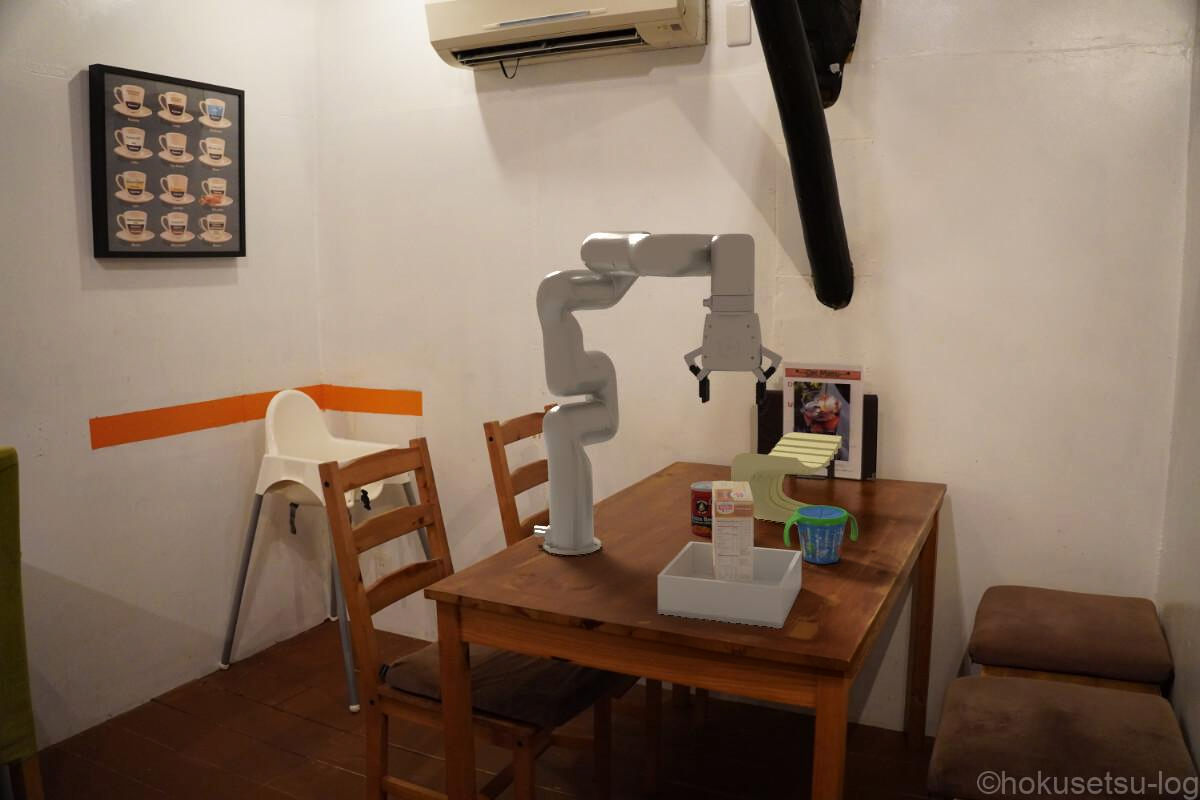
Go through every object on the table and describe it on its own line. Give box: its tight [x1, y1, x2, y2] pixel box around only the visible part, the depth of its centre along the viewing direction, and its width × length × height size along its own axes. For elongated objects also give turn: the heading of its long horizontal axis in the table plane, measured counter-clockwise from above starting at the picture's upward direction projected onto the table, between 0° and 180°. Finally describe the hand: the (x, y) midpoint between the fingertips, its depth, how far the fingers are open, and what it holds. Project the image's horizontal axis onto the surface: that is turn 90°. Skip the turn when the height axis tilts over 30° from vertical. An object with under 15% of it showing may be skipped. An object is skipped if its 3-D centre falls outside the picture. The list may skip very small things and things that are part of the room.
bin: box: [657, 540, 803, 629], centre depth 170 cm, size 22×22×7 cm
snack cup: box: [783, 504, 859, 565], centre depth 193 cm, size 16×10×10 cm
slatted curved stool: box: [730, 431, 843, 526], centre depth 226 cm, size 30×16×18 cm, turn 147°
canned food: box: [690, 480, 714, 537], centre depth 214 cm, size 8×8×11 cm
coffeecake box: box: [711, 480, 755, 584], centre depth 170 cm, size 15×7×20 cm, turn 174°
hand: (732, 402), depth 166 cm, fingers open, 9 cm apart
